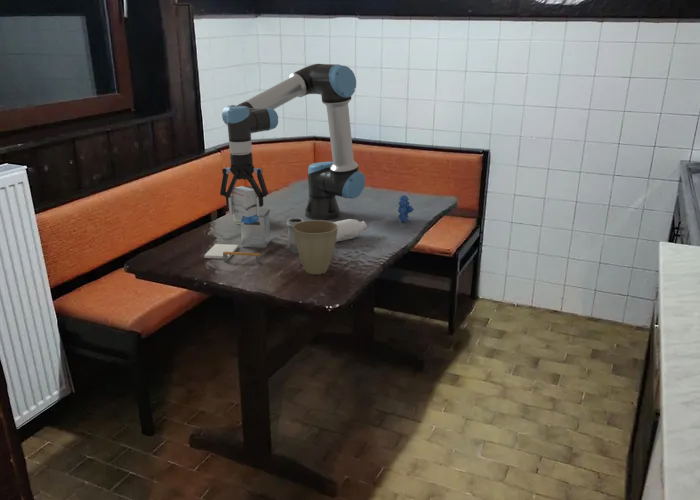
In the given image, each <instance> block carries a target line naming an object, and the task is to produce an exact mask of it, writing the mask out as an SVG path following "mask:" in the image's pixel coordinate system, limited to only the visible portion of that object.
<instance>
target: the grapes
mask: <svg viewBox="0 0 700 500" xmlns="http://www.w3.org/2000/svg"><path fill="white" fill-rule="evenodd" d="M399 200H400V201H398V203H397V204H398V205H399V206H398V207H397V212H398V216H397V217H398V218H399V220H400V222H402V223H405V222H406V221H407V220H408V218H409V214H410V213H412V212H413V211H414V210H415V209H414V208H413V206H412V205H410V204H411V203H410V202H409V197H408V196H407V195H405V194H404V195H401V196H400V198H399Z"/></svg>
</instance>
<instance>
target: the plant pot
mask: <svg viewBox="0 0 700 500" xmlns="http://www.w3.org/2000/svg"><path fill="white" fill-rule="evenodd" d="M333 222H334V221H330V220H325V219H311V220H304V221H303V222H299V223H297V224H295V225H294V226H293V229H294V235H295V240H296V245H297V249H298V252H299V253H298V255H299V258H300V261H301V264H302V266H303V269H304V270H305V272H306V273H307V274H309V275H316V274H317V275H322V273H323V274H326V273H327V271H328V269H329V266H330V264H331V261H332V258H333V255H334V251H335V246H336V243H337V242H336V237H337V230H338V225H337V224H335V223H333Z"/></svg>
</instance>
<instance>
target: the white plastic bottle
mask: <svg viewBox="0 0 700 500" xmlns="http://www.w3.org/2000/svg"><path fill="white" fill-rule="evenodd" d="M332 222H333V223H335V224H337V225H338V230H337V237H336V242H335V243H338V241H339V242H343V241H347V240H354V239H355V238H356V237H358V236H360V235H361V234H363V232H364V231H366V230H368V225H367V224H366V222H365V221H364V220H362V221H359V220H358V219H352V218H348V219H343V220H337V221H332Z"/></svg>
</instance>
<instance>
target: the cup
mask: <svg viewBox="0 0 700 500" xmlns="http://www.w3.org/2000/svg"><path fill="white" fill-rule="evenodd" d="M303 221H305V220H304V219H303V218H301V217H291V218H287V221H286V225H287V233H288V234H287V235H288V243H289V251H290V253H291V254H299V252H298V249H297V245H296V240H295V235H294V229H293V226H294V225H295V224H297V223H299V222H303Z"/></svg>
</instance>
